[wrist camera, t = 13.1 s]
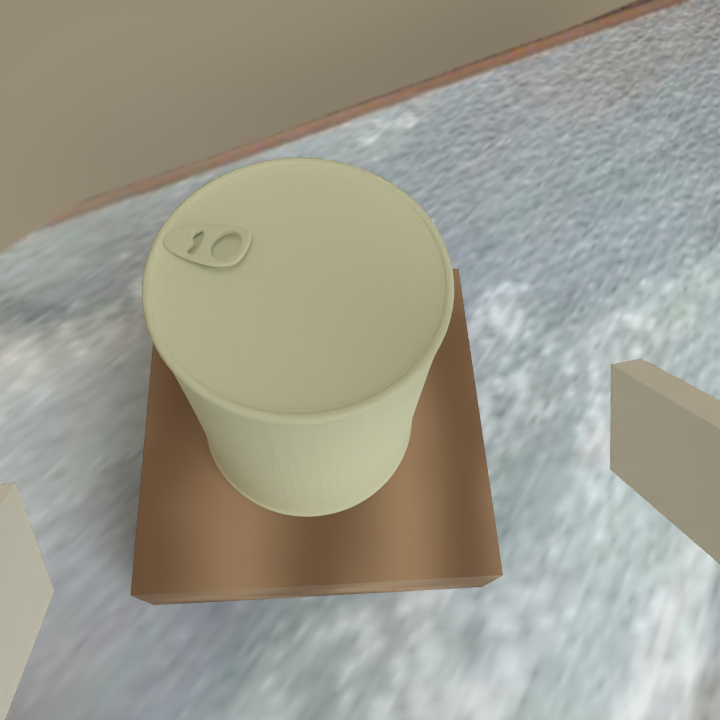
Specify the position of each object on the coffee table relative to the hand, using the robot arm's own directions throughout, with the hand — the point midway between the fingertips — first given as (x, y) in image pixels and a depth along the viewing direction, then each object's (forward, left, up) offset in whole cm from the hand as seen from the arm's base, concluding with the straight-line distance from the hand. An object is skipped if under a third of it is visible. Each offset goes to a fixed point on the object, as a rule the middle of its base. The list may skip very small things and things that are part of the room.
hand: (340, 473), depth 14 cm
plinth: (+1, -7, -18) cm, 19 cm away
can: (+1, -7, -14) cm, 15 cm away
